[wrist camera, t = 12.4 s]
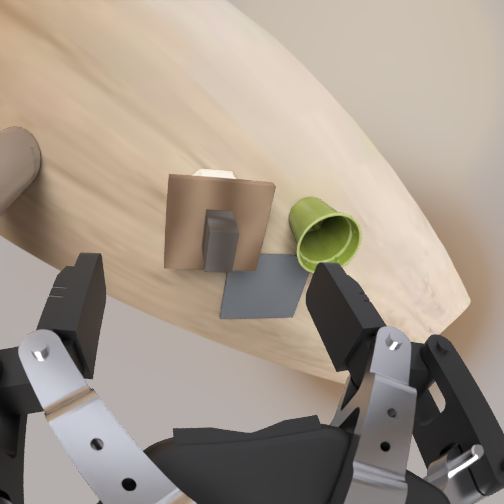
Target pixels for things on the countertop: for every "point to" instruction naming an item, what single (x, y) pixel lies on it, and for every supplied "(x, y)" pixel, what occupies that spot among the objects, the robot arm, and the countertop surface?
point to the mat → (264, 289)
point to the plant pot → (323, 234)
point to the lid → (215, 222)
